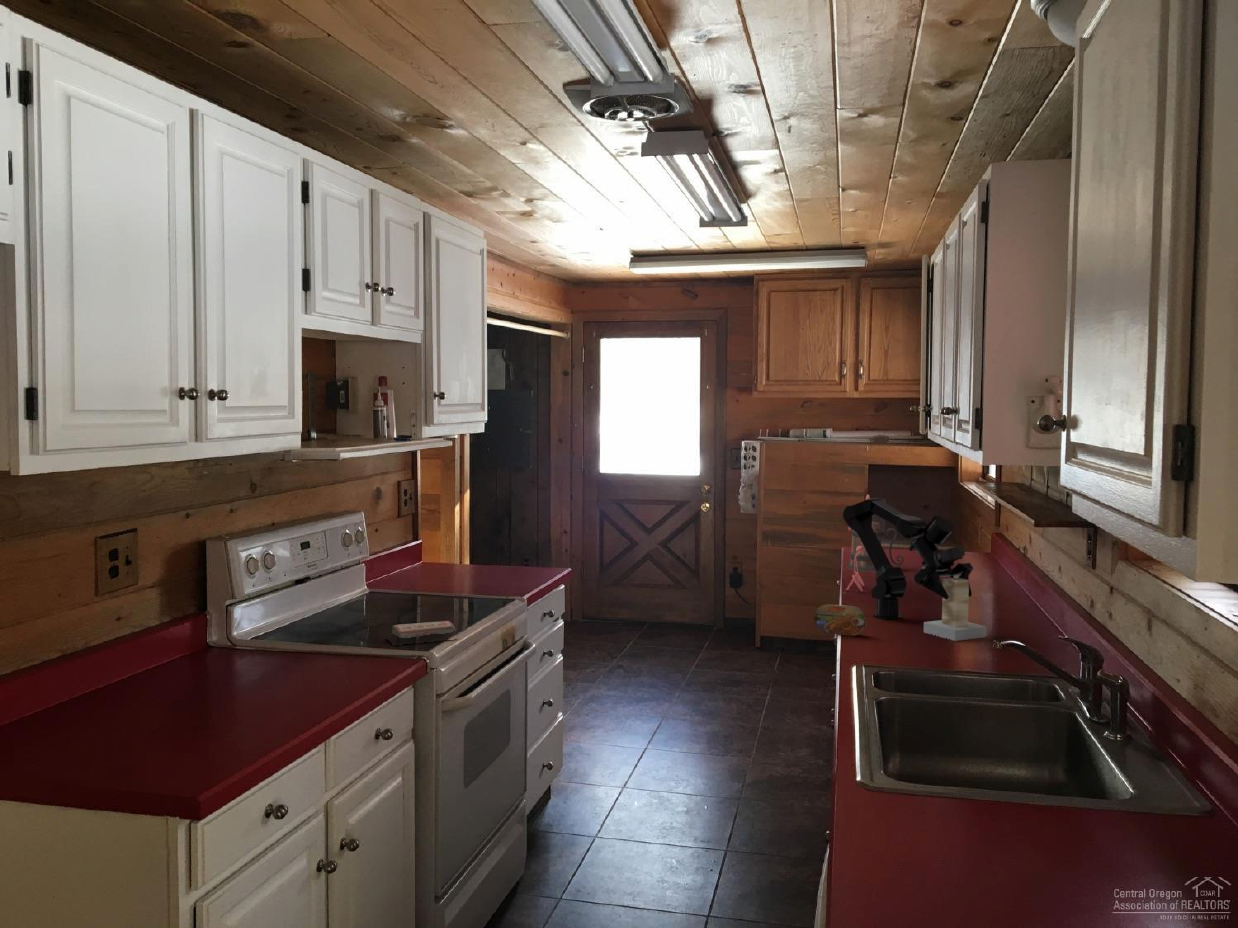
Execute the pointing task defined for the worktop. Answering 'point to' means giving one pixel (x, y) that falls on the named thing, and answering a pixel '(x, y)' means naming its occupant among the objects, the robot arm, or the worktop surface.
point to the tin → (840, 620)
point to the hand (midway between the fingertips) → (959, 597)
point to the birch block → (955, 602)
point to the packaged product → (422, 629)
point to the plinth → (955, 630)
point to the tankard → (863, 558)
